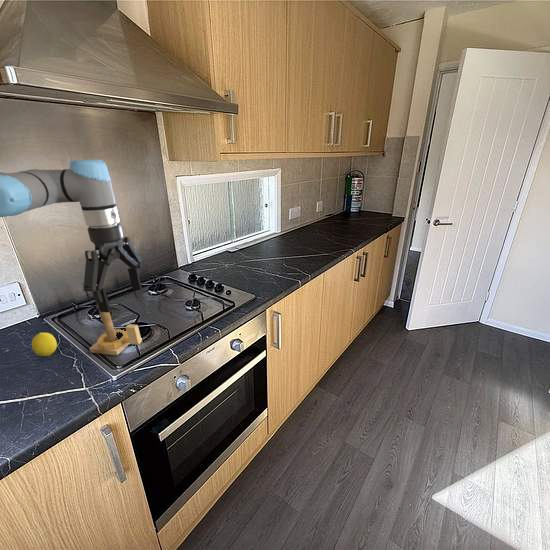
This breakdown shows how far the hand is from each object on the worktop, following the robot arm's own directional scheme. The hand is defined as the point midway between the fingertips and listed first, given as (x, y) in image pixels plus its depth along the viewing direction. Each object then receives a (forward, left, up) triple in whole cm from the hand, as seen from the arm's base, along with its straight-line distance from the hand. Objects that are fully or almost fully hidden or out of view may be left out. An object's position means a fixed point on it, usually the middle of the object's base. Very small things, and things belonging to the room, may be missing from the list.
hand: (122, 299), depth 82 cm
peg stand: (-7, 0, -16) cm, 18 cm away
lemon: (-23, -8, -17) cm, 29 cm away
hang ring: (-5, 0, -15) cm, 15 cm away
